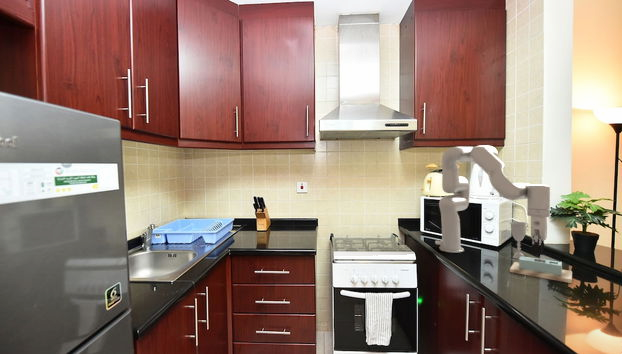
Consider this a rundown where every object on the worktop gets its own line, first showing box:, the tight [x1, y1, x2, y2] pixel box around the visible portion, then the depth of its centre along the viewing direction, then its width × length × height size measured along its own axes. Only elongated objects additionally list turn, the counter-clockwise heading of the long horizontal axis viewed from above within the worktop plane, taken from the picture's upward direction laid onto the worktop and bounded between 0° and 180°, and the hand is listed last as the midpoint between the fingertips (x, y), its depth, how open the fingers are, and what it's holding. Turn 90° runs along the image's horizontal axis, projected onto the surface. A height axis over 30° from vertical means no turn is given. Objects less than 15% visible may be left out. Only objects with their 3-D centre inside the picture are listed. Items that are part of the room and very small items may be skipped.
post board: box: [509, 258, 573, 284], centre depth 120 cm, size 20×12×6 cm, turn 46°
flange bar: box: [518, 255, 563, 275], centre depth 120 cm, size 14×6×4 cm, turn 46°
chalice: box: [509, 221, 528, 260], centre depth 141 cm, size 7×7×18 cm
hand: (538, 251), depth 121 cm, fingers open, 9 cm apart
